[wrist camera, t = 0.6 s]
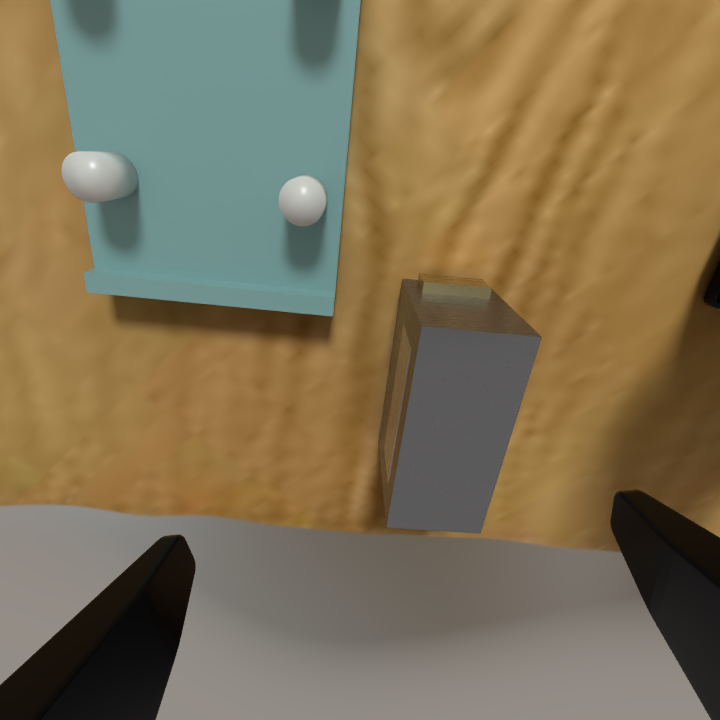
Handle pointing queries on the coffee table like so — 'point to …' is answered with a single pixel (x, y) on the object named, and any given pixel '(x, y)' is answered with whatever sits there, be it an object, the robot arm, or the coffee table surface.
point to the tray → (211, 146)
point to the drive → (450, 401)
